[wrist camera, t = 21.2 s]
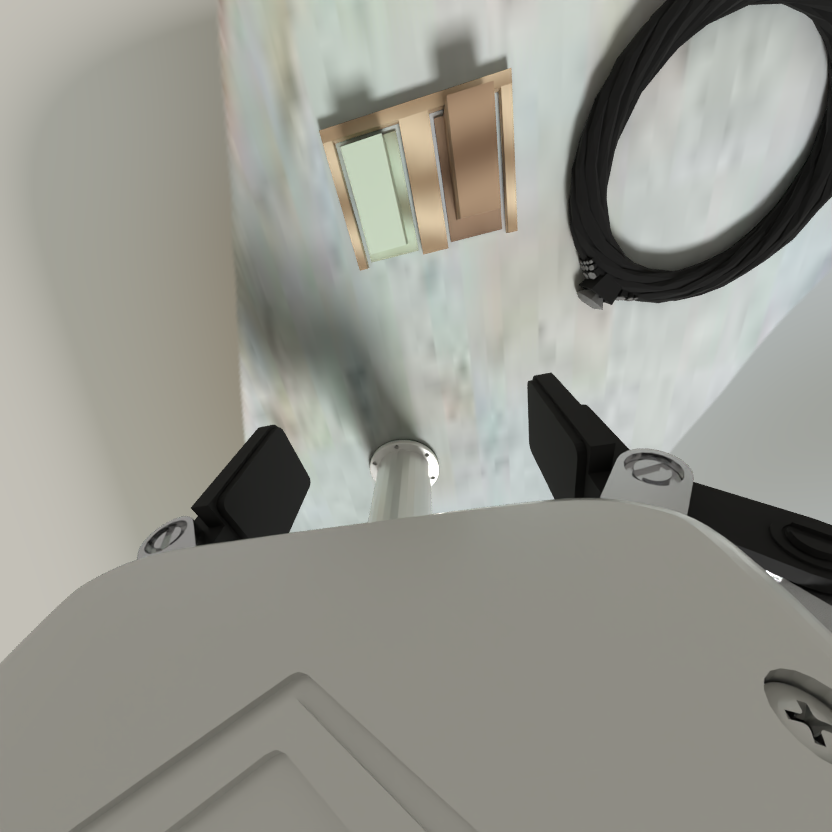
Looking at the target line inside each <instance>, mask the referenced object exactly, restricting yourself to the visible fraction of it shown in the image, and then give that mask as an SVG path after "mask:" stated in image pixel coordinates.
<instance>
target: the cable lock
mask: <svg viewBox="0 0 832 832" xmlns="http://www.w3.org/2000/svg"><path fill="white" fill-rule="evenodd" d="M758 4H784V5H786V6H788V7H791V8H793V9H795V10H797V11H799V12H802V13H804V14H805V15H807V16H808V17H809V18H811V19H812V20H813V22H814V23H815V25H816V27H817V29H818V31H819V33H820V34H821V36H822V38H823V40H824V42H825V45H826V48H827V51H828V64H829V95H828V106H827V110H826V112H825V115H824V117H823V120H822V123H821V126H820V129H819V132H818V135H817V137H816V140H815V143H814V146H813V149H812V152H811V154H810V156H809V159H808V161H807V162H806V163H805V165H804V166H803V168H802V169H801V171H800V172H799V174H798V175H797V177H796V178H795V180H794V181H793V183H792V184H791V186H790V187H789V189H788V190H787V192H786V193H785V195H784V196H783V198H782V199H781V200H780V201H779V203H778V204H777V205H776V207H775V208H774V209H773V210H772V211H771V212H770V213H769V214H768V215H767V216H766V217H765V218H764V219H763V220H762V221H761V222H760V223H759V224H758V225H757V226H756V227H755V228H754V229H753V230H752V231H751V232H749V233H748V234H747V235H746V236H745V237H743V238H742V239H741V240H740V241H739V242H738V243H736V244H735V245H734V246H733V247H732V248H730V249H728V250H727V251H725V252H724V253H721V254H719V255H717V256H715V257H713V258H711V259H709V260H707V261H705V262H703V263H700V264H697V265H694V266H691V267H688V268H685V269H682V270H679V271H665V270H656V269H648V268H646V267H644V266H641V265H639V264H636V263H634V262H633V261H631V260H630V259H629V258H628V257H626V256H625V254H624V253H623V251H622V250H621V248H620V247H619V245H618V244H617V242H616V240H615V239H614V237H613V236H612V234H611V230H610V222H609V215H608V207H607V185H608V180H609V176H610V171H611V166H612V161H613V157H614V152H615V149H616V146H617V143H618V140H619V138H620V136H621V134H622V132H623V129H624V127H625V125H626V123H627V121H628V119H629V117H630V115H631V113H632V111H633V109H634V107H635V105H636V103H637V101H638V99H639V97H640V95H641V93H642V91H643V90H644V89H645V88H646V87H647V85H648V84H649V83H650V82H651V80H652V79H653V78H654V77H655V75H656V74H657V73H658V72H659V70H660V69H661V68H662V67H663V66H664V64H665V63H666V62H667V61H668V59H669V58H670V57H671V56H672V55H673V54H674V52H675V51H676V50H677V49H678V48H679V47H680V46H682V45H683V44H684V43H685V42H686V41H687V40H689V39H690V38H691V37H692V36H693V35H695V34H696V33H697V32H698V31H700V30H701V29H702V28H704V27H705V26H706V25H708V24H709V23H711V22H713V21H716V20H718V19H720V18H722V17H724V16H726V15H728V14H731V13H733V12H735V11H737V10H739V9H741V8H743V7H746V6H748V5H758ZM831 197H832V0H667V1H666V2H665V3H664V4H663V5H662V6H661V7H660V8H659V9H658V10H657V11H656V12H655V13H654V14H653V15H652V16H651V18H650V19H649V21H648V22H647V23H646V24H645V25H644V26H643V27H642V28H641V29H640V31H639V32H638V33H637V34H636V36H635V37H634V38H633V39H632V41H631V42H630V43H629V44H628V46H627V47H626V48H625V50H624V51H623V52H622V53H621V55H620V56H619V57H618V58H617V61H616V63H615V65H614V67H613V69H612V71H611V73H610V75H609V77H608V78H607V80H606V82H605V83H604V85H603V87H602V88H601V90H600V92H599V93H598V95H597V97H596V98H595V101H594V104H593V106H592V109H591V111H590V114H589V117H588V119H587V122H586V125H585V127H584V130H583V132H582V135H581V137H580V141H579V145H578V149H577V152H576V156H575V160H574V164H573V167H572V178H571V194H570V198H569V214H570V227H571V232H572V236H573V241H574V245H575V247H576V249H577V251H578V253H579V255H580V257H581V258H580V260H579V262H580V266H581V269H583V270H582V273H583V275H584V277H585V278H586V279H585V280H584V281H583V282H582V283H581V284H580V286H581V287H582V288H584V289H585V290H582V291H578V292H577V294H578V297H579V298H580V299H581V300H582V301H583V302H584V303H586V304H587V305H589V306H590V307H592V308H595V309H602V308H603V303H604V302H605V303H608V304H611V305H612V304H613V302H614V300H618V301H619V300H626V301H632V300H635V301H642V302H653V303H661V302H667V301H677V300H681V299H686V298H690V297H695V296H699V295H702V294H705V293H708V292H710V291H713V290H715V289H718V288H721V287H723V286H725V285H727V284H728V283H730V282H732V281H734V280H735V279H737V278H739V277H740V276H742V275H744V274H746V273H747V272H749V271H750V270H752V269H753V268H755V267H756V266H758V265H759V264H761V263H762V262H764V261H765V260H767V259H768V258H770V257H771V256H772V255H773V254H775V253H776V252H777V251H779V250H780V249H781V248H782V247H784V246H785V245H786V244H788V243H789V242H790V241H792V240H793V239H794V238H795V237H796V236H797V234H798V233H799V232H800V231H801V230H802V229H803V228H804V226H805V225H806V224H807V223H808V222H809V221H810V220H811V218H812V217H813V216H814V215H815V214H816V213H817V211H818V210H819V209H820V208H821V207H822V206H823V205H824V204H825V203H826V202H827V201H828V200H829V199H830V198H831Z"/></svg>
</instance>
